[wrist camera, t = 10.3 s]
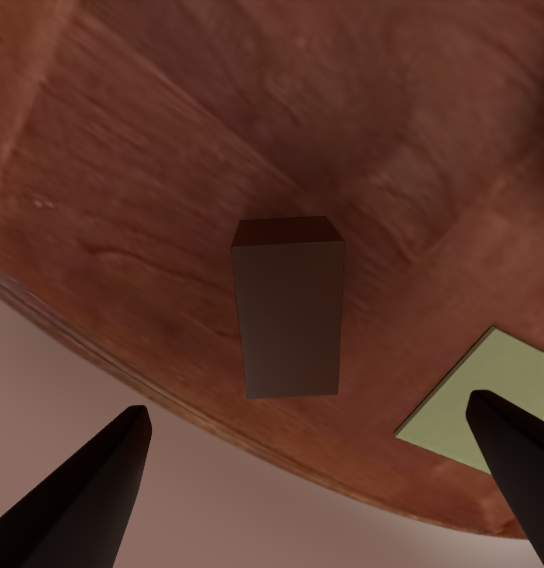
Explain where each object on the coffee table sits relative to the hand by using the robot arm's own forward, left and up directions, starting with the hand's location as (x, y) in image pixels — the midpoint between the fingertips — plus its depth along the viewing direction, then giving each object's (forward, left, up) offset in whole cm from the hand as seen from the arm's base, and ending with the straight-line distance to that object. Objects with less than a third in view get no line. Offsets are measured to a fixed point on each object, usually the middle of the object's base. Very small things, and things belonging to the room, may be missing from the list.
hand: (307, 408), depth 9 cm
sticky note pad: (-2, -17, -8) cm, 19 cm away
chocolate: (0, 0, -8) cm, 8 cm away
